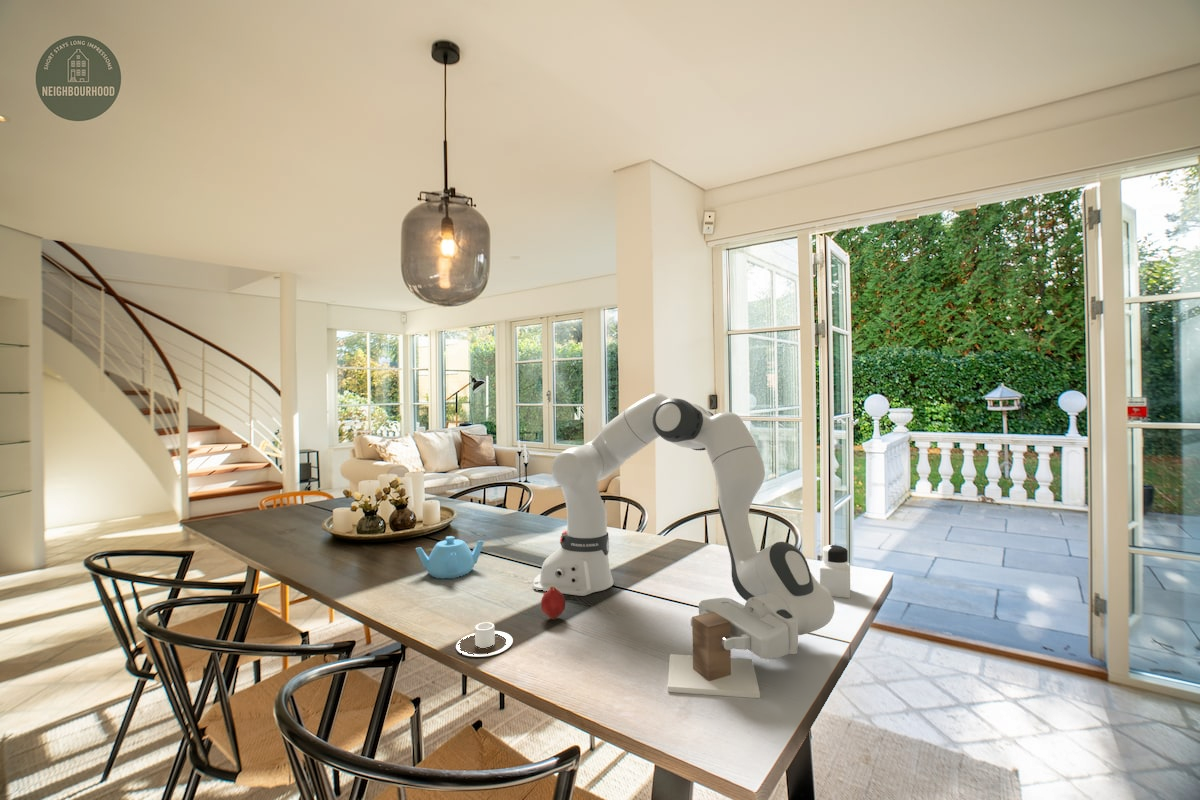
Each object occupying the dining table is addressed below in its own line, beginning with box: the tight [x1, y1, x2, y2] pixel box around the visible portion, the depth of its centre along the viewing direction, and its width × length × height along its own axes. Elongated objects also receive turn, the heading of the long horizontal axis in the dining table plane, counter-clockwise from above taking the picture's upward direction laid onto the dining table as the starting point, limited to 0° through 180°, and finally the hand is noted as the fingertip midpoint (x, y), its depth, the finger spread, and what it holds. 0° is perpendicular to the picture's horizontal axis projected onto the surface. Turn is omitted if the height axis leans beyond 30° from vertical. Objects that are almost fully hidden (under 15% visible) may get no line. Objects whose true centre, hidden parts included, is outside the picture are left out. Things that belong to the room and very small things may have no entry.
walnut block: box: [691, 612, 732, 681], centre depth 102 cm, size 5×5×10 cm
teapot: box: [415, 535, 485, 579], centre depth 165 cm, size 15×15×11 cm
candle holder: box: [455, 621, 514, 658], centre depth 117 cm, size 12×12×4 cm
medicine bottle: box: [819, 544, 851, 599], centre depth 143 cm, size 7×7×12 cm
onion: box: [540, 586, 566, 620], centre depth 130 cm, size 6×6×8 cm
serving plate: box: [667, 653, 761, 699], centre depth 102 cm, size 16×12×1 cm
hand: (707, 633), depth 102 cm, fingers open, 8 cm apart
